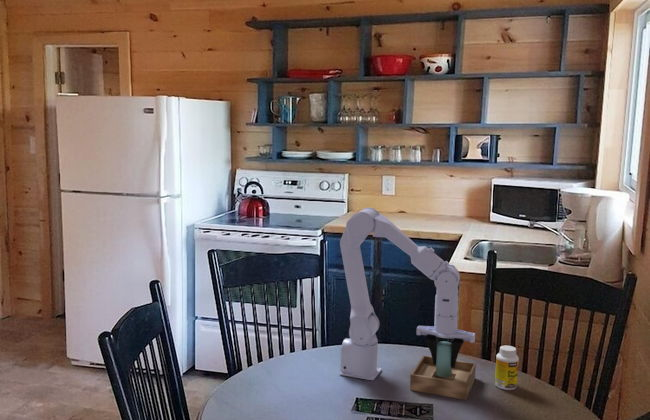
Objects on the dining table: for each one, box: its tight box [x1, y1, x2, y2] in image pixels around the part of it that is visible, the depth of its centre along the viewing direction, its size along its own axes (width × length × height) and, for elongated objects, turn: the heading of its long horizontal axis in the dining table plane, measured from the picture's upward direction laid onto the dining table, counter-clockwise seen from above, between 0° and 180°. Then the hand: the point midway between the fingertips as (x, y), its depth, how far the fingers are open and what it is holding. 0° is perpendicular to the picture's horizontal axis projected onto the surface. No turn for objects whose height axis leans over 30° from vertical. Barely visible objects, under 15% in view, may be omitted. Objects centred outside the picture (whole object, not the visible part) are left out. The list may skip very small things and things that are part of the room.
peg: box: [436, 341, 452, 377], centre depth 151 cm, size 4×4×8 cm
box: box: [409, 355, 477, 401], centre depth 152 cm, size 14×14×4 cm
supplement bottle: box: [494, 345, 520, 391], centre depth 151 cm, size 6×6×10 cm
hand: (444, 365), depth 152 cm, fingers closed on peg, 4 cm apart
